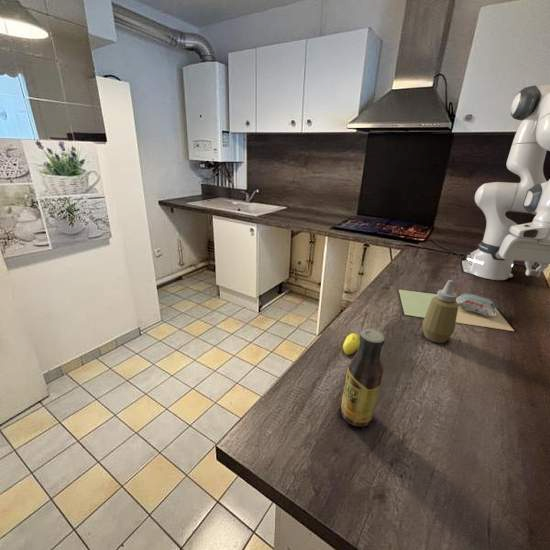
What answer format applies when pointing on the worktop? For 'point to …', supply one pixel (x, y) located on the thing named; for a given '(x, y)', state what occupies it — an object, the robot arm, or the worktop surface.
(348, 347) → the lemon
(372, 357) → the sauce bottle
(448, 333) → the squeeze bottle
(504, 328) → the mat
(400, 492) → the worktop surface
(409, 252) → the worktop surface
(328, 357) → the worktop surface
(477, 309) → the packaged food
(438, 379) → the worktop surface
